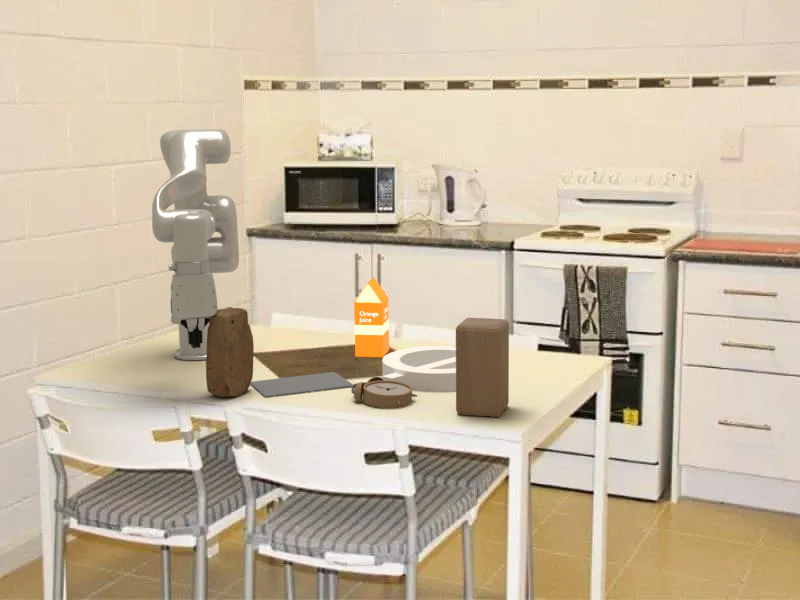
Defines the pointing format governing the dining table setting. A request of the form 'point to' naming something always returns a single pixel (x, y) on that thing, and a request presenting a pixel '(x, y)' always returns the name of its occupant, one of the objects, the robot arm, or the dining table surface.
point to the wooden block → (482, 367)
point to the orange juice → (371, 321)
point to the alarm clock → (383, 393)
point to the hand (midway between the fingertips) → (195, 346)
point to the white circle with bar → (422, 368)
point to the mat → (300, 384)
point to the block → (229, 353)
